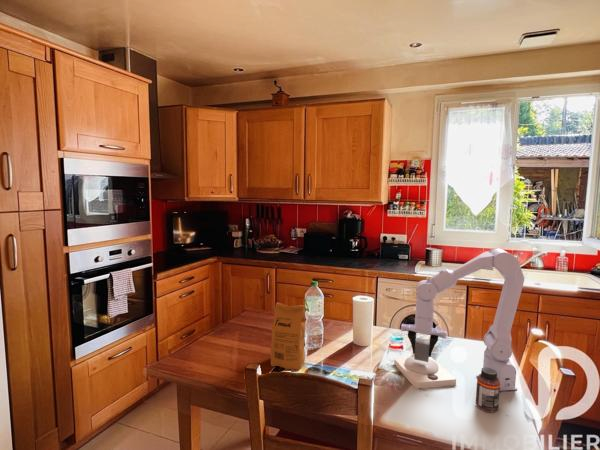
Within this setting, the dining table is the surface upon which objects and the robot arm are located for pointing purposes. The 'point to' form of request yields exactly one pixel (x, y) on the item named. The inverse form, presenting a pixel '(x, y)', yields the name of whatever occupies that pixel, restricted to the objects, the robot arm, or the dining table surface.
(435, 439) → the dining table surface
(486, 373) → the supplement bottle
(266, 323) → the dining table surface
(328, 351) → the dining table surface
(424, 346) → the steel spacer
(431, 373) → the kitchen scale
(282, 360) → the coffee package
